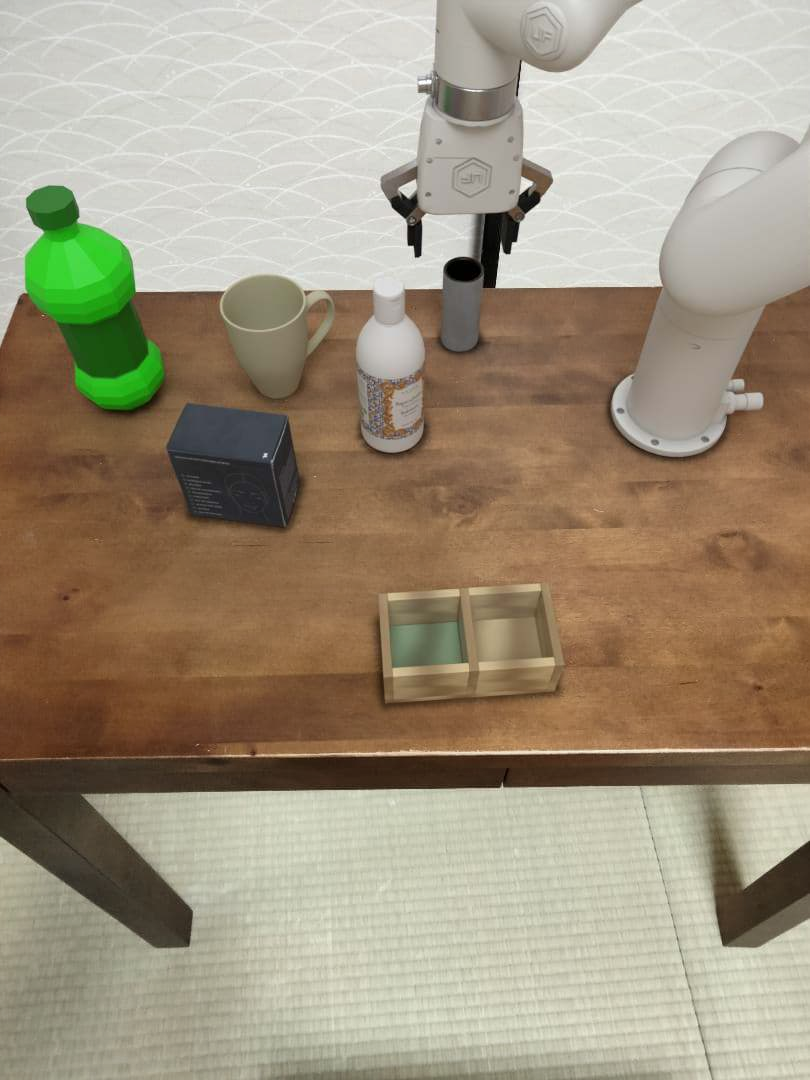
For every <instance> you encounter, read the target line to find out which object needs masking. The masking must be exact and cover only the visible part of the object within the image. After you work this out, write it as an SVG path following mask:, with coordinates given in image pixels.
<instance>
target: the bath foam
mask: <svg viewBox="0 0 810 1080" xmlns="http://www.w3.org/2000/svg"><path fill="white" fill-rule="evenodd" d="M372 299H373V300H372V301H373V302H372V303H373V304H372V305H373V315H372V316H371V317H370V318H369V319H368V320H367V321H366V323H365V324H364V325H363V327H362V328H361V330H360V332H359V335H358V337H357V341H356V347H355V365H356V366H355V367H356V379H357V389H358V390H357V393H358V406H359V420H360V430H361V435H362V437H363V439H364V441H365V442H366V443H367V444H368V445H369V446H370V447H372V448H373V449H374V450H377V451H379V452H383V453H388V454H389V453H390V454H395V453H402V452H405V451H407V450H410V449H411V448H412V447H414V446H416V445H417V443H419V442H420V440H421V438H422V437H423V434H424V424H425V423H424V422H425V393H426V392H425V391H426V389H425V387H426V386H425V384H426V347H425V343H424V339H423V336H422V334H421V331H420V329H419V328H418V326H417V325H416V323H415V322H414V321H413V320H412V319H411V317H409V316H408V315H407V314H406V287H405V283H404V282H403V281H402V279H400V278H399V277H396V276H392V275H385V276H382V277H379V278H378V279H376V280H375V281H374V283H373V285H372Z"/></svg>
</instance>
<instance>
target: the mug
mask: <svg viewBox="0 0 810 1080" xmlns="http://www.w3.org/2000/svg"><path fill="white" fill-rule="evenodd" d="M321 300H325V302H326V314H325V317H324V319H323V320H322V323H321V324H320V326H319V327H318V328H317V330H316V331H315V333H314V334H313V336H312V337H311V338H310V339H309V331H308V313H309V310H311V309H312V307H313V306H314V305H315V304H316V303H317V302H319V301H321ZM219 311H220V315H221V317H222V320H223V321H222V322H223V324H224V327H225V329H226V333H227V336H228V339H229V342H230V344H231V347H232V350H233V352H234V355H235V357H236V359H237V361H238V363H239V364H240V366H241V368H242V370H243V371H244V372H245V373H246V375H247V376H248V378H249V379H250V381H251V382H252V383H253V385H254V386H255V387H256V389H257V390H258V392H259V393H260V394H261V395H262V396H264V397H266V398H269V399H276V400H277V399H284V398H287V397H289V396H291V395H292V394H294V393H295V392H296V391H297V389H298V388H299V386H300V381H301V377H302V374H303V370H304V367H305V363H306V359H307V358H308V357H309V356H310V355H311V354H312V353H313V352H314V350H315V349H316V348H317V347H318V346H319V345H320V343H321V342H322V341H323V340H324V338H325V337H326V335H327V334H328V333H329V331H330V329H331V327H332V326H333V324H334V320H335V316H336V309H335V303H334V301H333V298H332V297H331V295H330V294H329V293H328V292H326V291H325V290H322V289H316V290H313V291H311V292H310V293H308V294H307V295H306V293H305V290H304V289H303V287H301V285H300V284H299V283H298V282H296V281H295V280H294V279H291V278H289V277H288V276H284V275H280V274H274V273H260V274H254V275H253V274H252V275H249V276H246V277H243V278H241V279H238V280H237V281H235V282H233V283H232V284H231V285H229V286H228V287H227V288H226V290H225V291H224V293H222V296H221V298H220V300H219Z"/></svg>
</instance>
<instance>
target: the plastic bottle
mask: <svg viewBox="0 0 810 1080" xmlns="http://www.w3.org/2000/svg"><path fill="white" fill-rule="evenodd" d="M25 208H26V210H27V213H28V215H29V217H30V219H31V222H32V224H33V225H34V226H35V227H37V228H39V229H40V230H42V231H43V233H42V234H41V236H39V238H38V239H37V240H36V241H35V242H34V244H33V245H32V246H31V247H30V249H29V250H28V251H27V253H26V254H25V255H24V289H25V291H26V293H27V295H28V297H29V299H30V300H31V302H32V303H33V304H34V305H35V307H36V308H37V309H38V310H40V311H41V312H42V313H44V314H45V315H47V316H48V317H50V318H51V319H52V320H54V321H55V322H56V324H57V326H58V328H59V330H60V332H61V334H62V337H63V340H64V341H65V343H66V345H67V347H68V349H69V352H70V354H71V356H72V358H73V360H74V363H73V365H74V366H73V367H74V384H75V386H76V387H77V390H78V391H79V392H80V393H81V394H82V395H84V396H85V397H86V398H87V399H89V400H90V401H91V402H93V403H94V404H95V405H97V406H99V407H100V408H101V409H104V410H115V411H116V410H117V411H132V410H135V409H137V408H140V407H142V406H144V405H145V404H146V403H148V402H150V400H151V399H152V398H153V396H154V395H155V393H157V391H158V390H159V389H160V387H162V385H163V383H164V380H165V379H164V378H165V369H164V363H163V362H164V361H163V356H162V353H161V350H160V348H159V347H158V346H157V345H156V344H155V343H154V342H153V341H151V340H150V339H149V338H147V336H146V334H145V330H144V328H143V325H142V323H141V322H142V321H141V320H140V317H139V314H138V311H137V307H136V306H135V302H134V300H133V296H134V295H135V294H136V293H137V288H136V279H135V278H136V277H135V271H134V270H135V269H134V262H133V258H132V256H131V253H130V250H129V249H128V247H127V246H126V245H125V244H124V243H123V242H122V241H121V240H120V239H119V238H116V237H115V236H114V235H112V234H110V233H108V232H107V231H105V230H103V229H102V228H100V227H96V226H93V225H90V224H86V223H82V222H81V223H80V222H78V219H79V218H80V217H81V216H80V208H79V205H78V203H77V200H76V198H75V194H74V191H73V190H71V189H69V188H67V187H66V186H64V185H45V186H43V187H39V188H37V189H34V190H33V191H32V192H31V193H30V194H29V195H28V196H26V198H25Z"/></svg>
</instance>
